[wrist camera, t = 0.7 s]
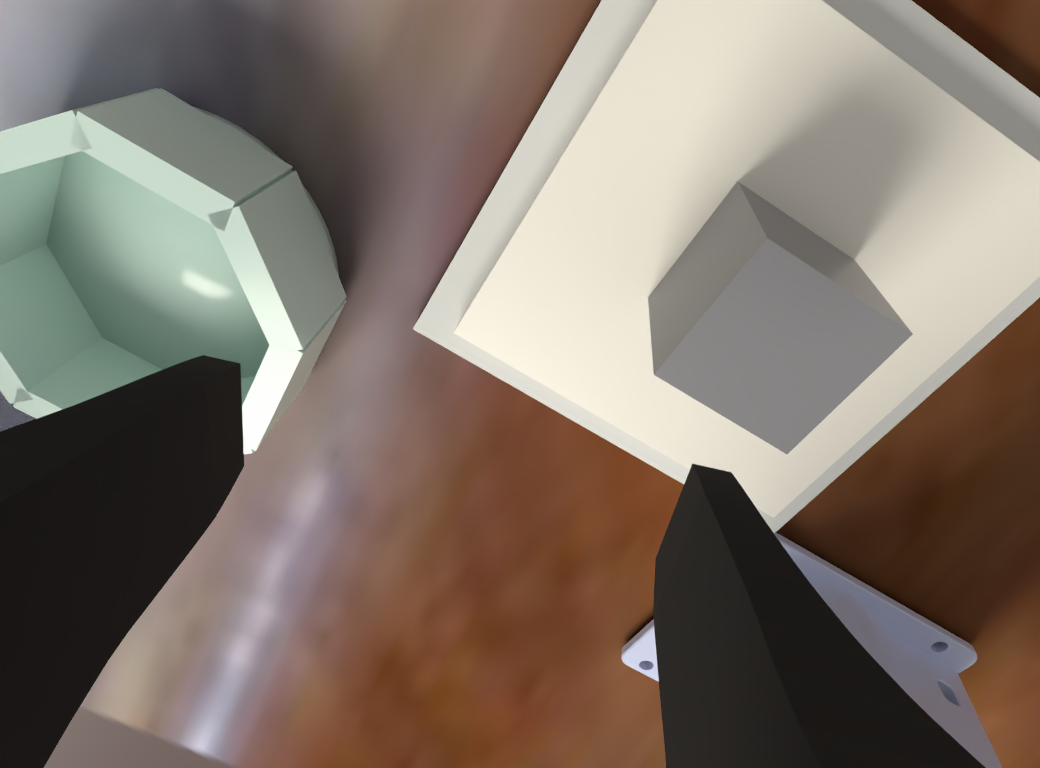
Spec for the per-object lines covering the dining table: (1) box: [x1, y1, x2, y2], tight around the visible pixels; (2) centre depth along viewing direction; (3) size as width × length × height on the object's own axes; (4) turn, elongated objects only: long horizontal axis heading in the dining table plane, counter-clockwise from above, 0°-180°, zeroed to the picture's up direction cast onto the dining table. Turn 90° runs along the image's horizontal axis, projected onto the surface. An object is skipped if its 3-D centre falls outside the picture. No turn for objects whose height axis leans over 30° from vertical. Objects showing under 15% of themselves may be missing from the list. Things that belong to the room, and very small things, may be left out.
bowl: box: [0, 88, 347, 454], centre depth 19 cm, size 9×9×4 cm
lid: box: [454, 0, 1040, 518], centre depth 16 cm, size 11×11×5 cm
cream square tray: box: [413, 0, 1040, 533], centre depth 18 cm, size 13×13×1 cm
